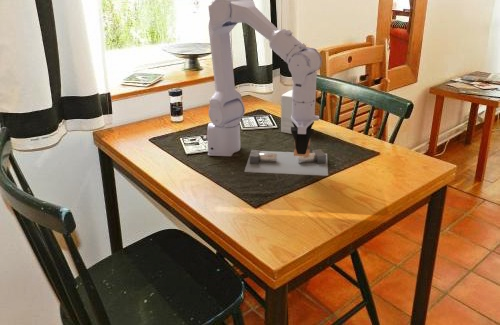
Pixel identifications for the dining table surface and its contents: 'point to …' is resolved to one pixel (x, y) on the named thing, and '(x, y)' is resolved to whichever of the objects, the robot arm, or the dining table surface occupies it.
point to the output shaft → (313, 157)
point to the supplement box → (286, 112)
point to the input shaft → (262, 157)
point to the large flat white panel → (288, 165)
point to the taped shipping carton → (302, 154)
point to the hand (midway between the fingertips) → (301, 149)
